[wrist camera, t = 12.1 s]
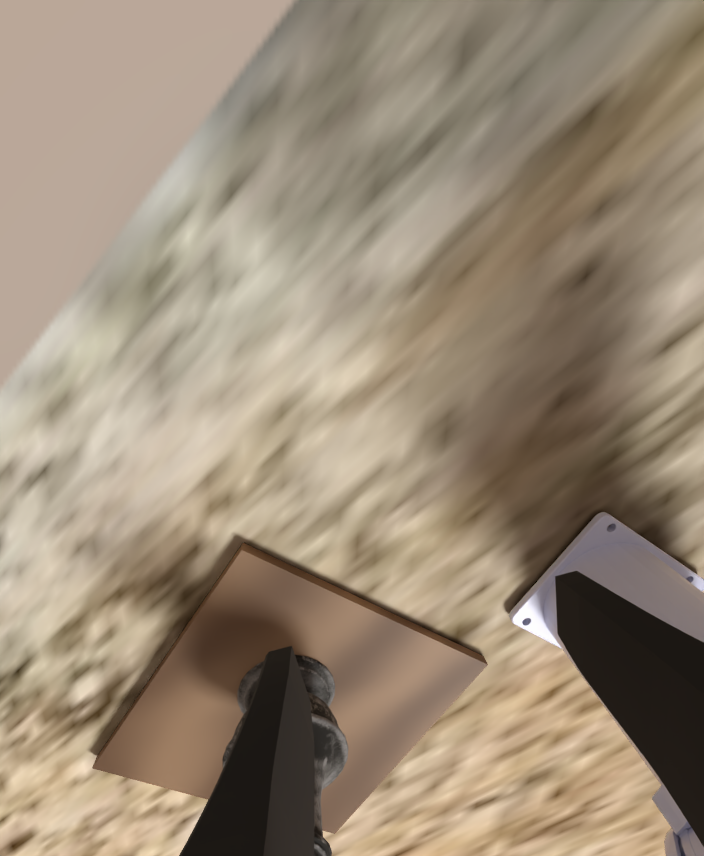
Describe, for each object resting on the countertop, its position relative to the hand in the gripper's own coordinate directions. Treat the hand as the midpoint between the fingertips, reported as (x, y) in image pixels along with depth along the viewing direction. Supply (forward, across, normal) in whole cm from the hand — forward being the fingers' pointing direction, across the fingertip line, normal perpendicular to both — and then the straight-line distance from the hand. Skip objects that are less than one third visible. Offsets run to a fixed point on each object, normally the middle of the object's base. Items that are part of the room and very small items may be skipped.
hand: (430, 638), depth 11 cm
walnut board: (+10, +7, +13) cm, 18 cm away
